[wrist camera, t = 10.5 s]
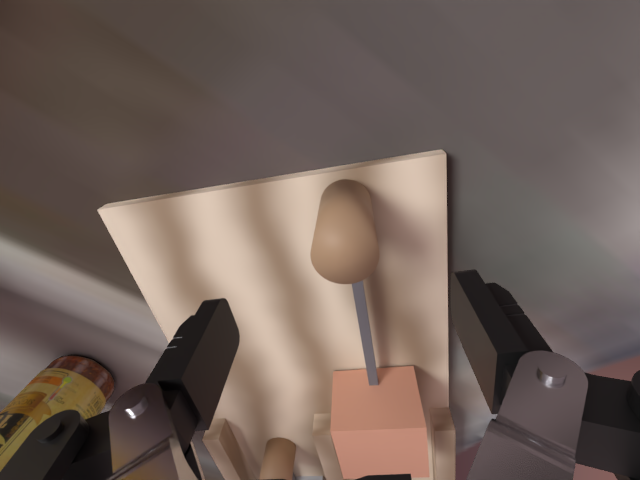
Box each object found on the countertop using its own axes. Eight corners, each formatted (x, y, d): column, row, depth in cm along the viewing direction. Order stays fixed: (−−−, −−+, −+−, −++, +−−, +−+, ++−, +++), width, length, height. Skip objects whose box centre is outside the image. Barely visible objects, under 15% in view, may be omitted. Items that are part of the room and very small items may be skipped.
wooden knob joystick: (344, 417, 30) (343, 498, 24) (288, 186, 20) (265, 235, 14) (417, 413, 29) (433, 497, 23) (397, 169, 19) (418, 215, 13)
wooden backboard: (262, 502, 41) (256, 532, 38) (107, 203, 23) (75, 223, 20) (447, 501, 38) (455, 534, 35) (441, 149, 19) (456, 163, 17)
